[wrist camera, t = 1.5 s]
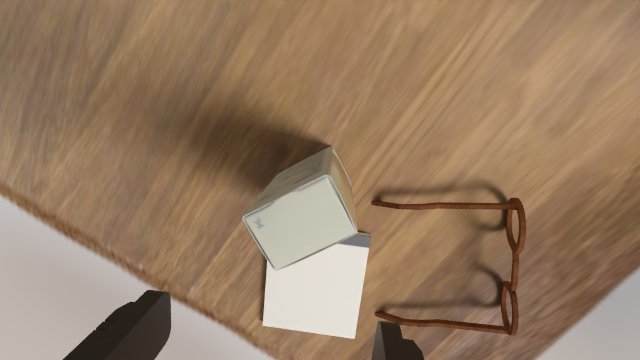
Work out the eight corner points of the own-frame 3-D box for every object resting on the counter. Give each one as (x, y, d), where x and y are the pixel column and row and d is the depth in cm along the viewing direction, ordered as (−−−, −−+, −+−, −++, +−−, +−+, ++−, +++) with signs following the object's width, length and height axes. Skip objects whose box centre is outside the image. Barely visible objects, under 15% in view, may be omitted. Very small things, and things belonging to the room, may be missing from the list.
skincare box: (297, 211, 33) (270, 276, 21) (276, 173, 32) (235, 219, 20) (355, 183, 32) (361, 235, 20) (335, 142, 31) (327, 173, 19)
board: (271, 221, 33) (269, 223, 33) (370, 233, 33) (370, 236, 32) (264, 321, 36) (262, 326, 36) (354, 334, 36) (354, 339, 35)
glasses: (501, 311, 34) (527, 346, 30) (375, 313, 36) (379, 347, 31) (509, 190, 31) (539, 207, 26) (370, 197, 32) (374, 215, 28)
